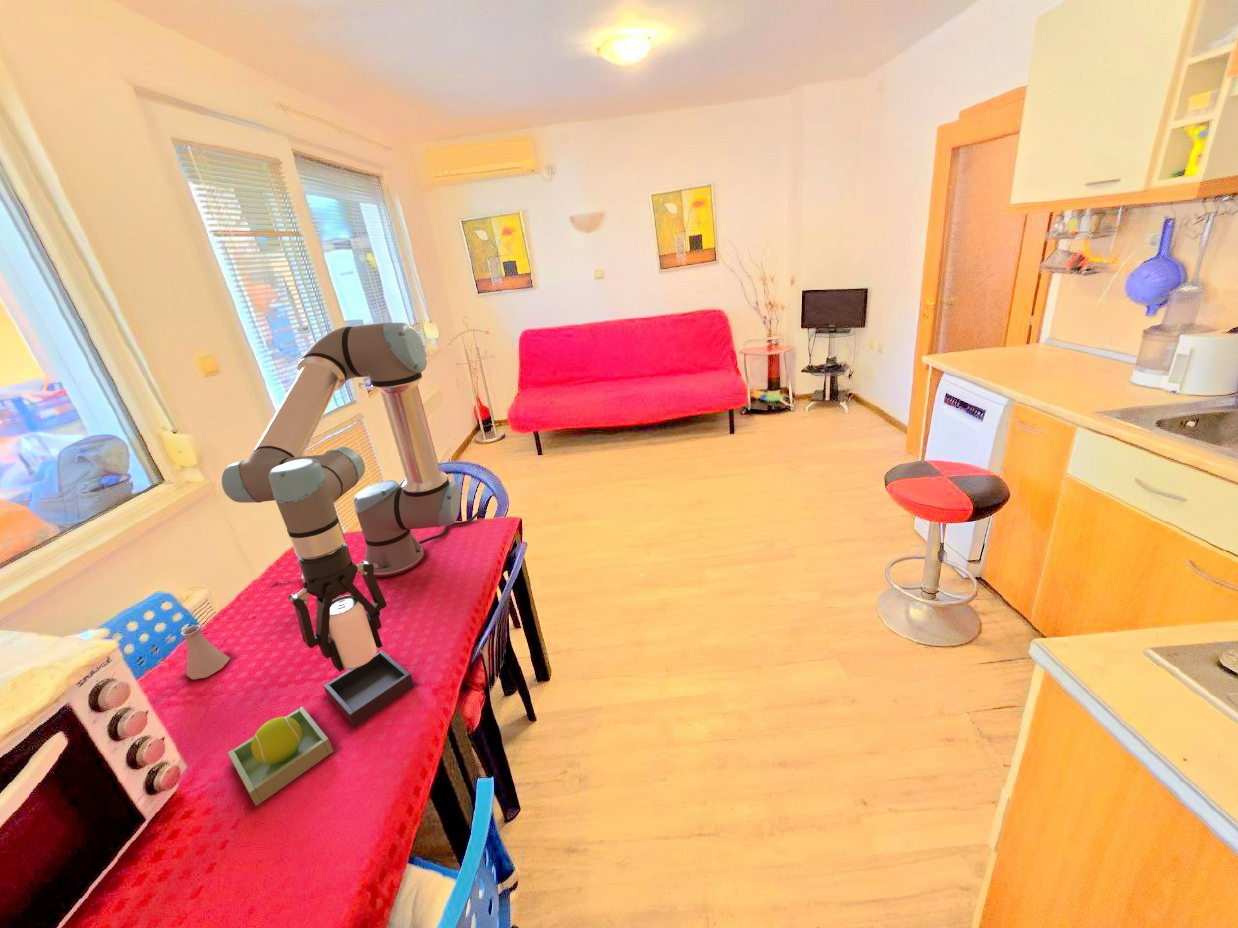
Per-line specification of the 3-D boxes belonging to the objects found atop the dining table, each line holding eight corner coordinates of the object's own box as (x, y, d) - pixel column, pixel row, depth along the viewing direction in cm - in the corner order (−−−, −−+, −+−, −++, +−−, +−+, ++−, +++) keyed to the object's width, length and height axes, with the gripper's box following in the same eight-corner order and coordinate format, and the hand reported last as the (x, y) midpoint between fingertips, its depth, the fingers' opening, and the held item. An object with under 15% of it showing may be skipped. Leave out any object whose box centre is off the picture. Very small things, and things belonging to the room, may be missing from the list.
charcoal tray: (385, 661, 105) (381, 649, 104) (414, 685, 98) (410, 673, 97) (327, 697, 97) (323, 685, 96) (354, 727, 90) (349, 714, 89)
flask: (206, 682, 104) (187, 643, 100) (179, 678, 105) (159, 640, 102) (237, 656, 110) (220, 619, 107) (211, 654, 112) (193, 617, 108)
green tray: (307, 718, 93) (302, 705, 92) (333, 751, 85) (328, 738, 84) (233, 765, 85) (227, 752, 83) (255, 806, 77) (249, 792, 76)
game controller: (323, 579, 137) (320, 571, 136) (274, 595, 132) (270, 587, 131) (322, 570, 141) (319, 562, 140) (275, 585, 136) (271, 577, 135)
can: (338, 675, 90) (318, 620, 86) (341, 652, 96) (322, 600, 92) (377, 662, 93) (359, 608, 88) (378, 641, 98) (361, 589, 94)
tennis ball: (266, 783, 80) (250, 751, 78) (255, 757, 85) (240, 727, 82) (313, 752, 85) (300, 721, 82) (300, 730, 90) (287, 700, 87)
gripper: (367, 520, 95) (397, 619, 103) (249, 569, 81) (294, 679, 90) (387, 530, 90) (416, 633, 99) (264, 584, 77) (311, 699, 85)
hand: (358, 655), depth 94 cm, fingers closed on can, 6 cm apart
